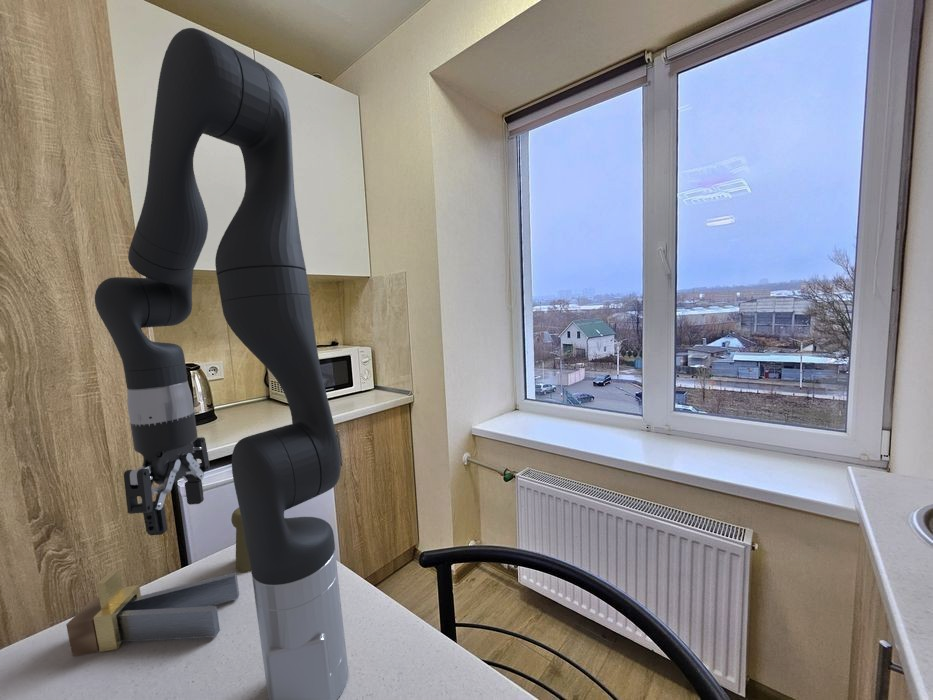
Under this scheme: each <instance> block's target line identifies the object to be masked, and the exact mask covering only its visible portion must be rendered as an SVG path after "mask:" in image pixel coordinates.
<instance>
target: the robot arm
mask: <svg viewBox="0 0 933 700" xmlns="http://www.w3.org/2000/svg"><path fill="white" fill-rule="evenodd" d="M278 77H279V76H277V75H276V74H275V72H273V71H272V70H271V69H269V68H268V67H266V66H265V65H264V64H262V63H260V62H258V61H256V59H253V58H251V57H250V56H248V55H246V54H244V53H243V52H241V51H239V50H237V49H236V48H234V47H233V46H230V45H229V44H227V43H225V42H224V41H222V40H220V39H218V38H216V37H214V36H213V35H212V34H209V33H207V32H205V31H203V30H200V29H198V28H195V27H187V28H183V29H180V30H179V31H178V32H176V34H175V35H174V36H173V37H172V39H171V40H170V42H169V44H168V46H167V48H166V51H165V53H164V56H163V59H162V62H161V67H160V72H159V77H158V84H157V90H156V91H157V92H156V100H155V106H154V107H155V108H154V118H153V125H152V133H151V142H150V149H149V150H150V153H149V163H148V175H147V183H146V191H145V197H144V200H143V205H142V208H141V212H140V215H139V219H138V221H137V224H136V227H135V230H134V234H133V236H132V240H131V242H130V245H129V249H128V254H127V255H128V256H127V258H128V262H129V264H130V266H131V268H133V270H134V271H135V272H137V273H138V274H139V275H141V276H143V277H124V276H123V277H120V276H118V277H117V276H115V277H109V278H106V279H104V280H103V281H102V282H101V283H100V284H99V285H98V286H97V288H96V290H95V293H94V304H95V308H96V310H97V314H98V315H99V318H100V319H101V321H102V323H103V324H104V326H105V327H106V330H107V331H108V333H109V335H110V337H111V339H112V341H113V343H114V345H115V347H116V350H117V351H118V354H119V356H120V358H121V361H122V362H121V363H122V365H123V371H124V372H123V373H124V376H125V377H124V378H125V385H126V389H127V390H126V393H127V401H126V402H127V403H126V405H127V412H128V417H129V418H128V419H129V425H130V430H131V431H130V432H131V436H132V437H131V438H132V442H133V443H132V444H133V449H134V451H135V452H136V453H138V454H140V455H141V456H142V457H143V458H142V459H143V460H142V461H143V462H142V466H140V467H138V468H136V469H135V468H134V469H127V470H125V471H124V473H123V482H124V491H125V499H126V508H127V513H128V514H129V515H132V514H133V515H134V514H135V515H136V514H143V520H144V524H145V532H146V533H147V535H149V536H160V535H164V534H165V533H166V532H167V531H168V525H167V518H166V511H165V507H164V504H165V500H166V497H167V494H168V493H170V492H171V491H172V489H173V485H174V483H176V482H177V481H178V480H179V479H180V478H182V480H183V481H185V482H184V489H185V497H186V502H187V504H188V505H190V506H191V505H200V504H201V503H203V501H204V499H205V498H204V488H203V482H202V480H203V479H204V476H205V472H209V471H210V469H211V466H210V460H209V454H208V449H207V442H206V438H205V437H202V436H201V437H199V436H198V430H197V422H196V415H195V408H194V407H195V406H194V400H193V395H192V390H191V388H190V385H189V381H188V373H187V365H186V359H185V353H184V351H183V348H182V347H181V346H180V345H178V344H176V343H171V342H161V341H159V342H158V341H153V340H151V339H150V338H149V337H148V336H146V334H145V333H144V331H143V330H142V329H143V328H157V327H159V328H160V327H161V328H162V327H172V326H173V327H174V326H177V325H180V324H182V323H183V322H185V321H186V320H187V319H188V318H189V317H190V315H191V313H192V310H193V279H194V269H195V267H196V265H197V262H198V260H199V258H200V255H201V253H202V251H203V248H204V246H205V243H206V240H207V236H208V231H209V221H208V220H209V219H208V214H207V211H206V207H205V205H204V202H203V201H204V200H203V199H202V196H201V193H200V190H199V187H198V183H197V179H196V175H195V171H194V169H195V168H194V156H195V151H196V148H197V147H198V146H197V145H198V143H199V141H200V139H201V137H202V135H206V136H209V137H212V138H215V139H217V140H220V141H223V142H226V143H229V144H231V145H234V146H237V147H239V149H240V151H241V154H242V159H243V163H244V173H245V174H244V175H245V176H244V179H245V189H244V194H243V197H242V200H241V203H240V204H239V206H238V209H237V210H236V212H235V213H234V216H233V217H232V219H231V221H230V222H229V224H228V226H227V228H226V230H225V231H224V233H223V235H222V237H221V239H220V242H219V244H218V246H217V249H216V255H215V261H214V262H215V265H214V266H215V270H216V271H215V272H216V274H215V275H216V280H217V285H218V290H219V296H220V303H221V308H222V314H223V317H224V319H225V321H226V323H227V324H228V326H229V328H230V330H232V332H233V333H234V335H236V337H237V338H238V340H239V341H240V342H241V343H242V344H243V345H244V346H245V347H246V348H247V349H248V350H249V351H250V352H251V354H252V355H254V356H255V358H256V359H258V360H259V362H261V364H263V366H264V367H266V369H267V370H268V371H269V372H270V373H271V374H272V376H273V378H274V379H275V380H276V381H277V382H278V385H279V387H281V390H282V391H283V393H284V396H285V398H286V402H287V403H288V408H289V411H290V417H291V421H292V422H291V423H290V424H287V425H284V426H283V425H282V426H281V427H280V426H278V427H276V428H272V429H269V430H266V431H262V432H258V433H255V434H251V435H248V436H245V437H243V438H241V439H240V440H238V441H237V442H236V444H235V446H234V448H233V450H232V454H231V473H232V474H231V475H232V479H233V484H234V489H235V493H236V498H237V502H238V508H240V514H241V519H242V524H243V531H244V538H245V543H246V547H247V551H248V556H249V560H250V566H251V571H250V572H251V578H252V579H251V580H252V585H253V592H254V600H255V602H254V603H255V610H256V616H257V624H258V631H259V632H258V633H259V639H260V647H261V655H262V662H263V671H264V676H265V677H264V678H265V683H266V690H267V691H266V692H267V697H268V700H338V699H339V698H340V696H341V694H342V693H343V692H344V690H345V688H346V685H347V682H348V679H349V666H348V655H347V648H346V638H345V630H344V629H345V628H344V620H343V619H344V618H343V611H342V610H343V609H342V602H341V600H342V599H341V592H340V584H339V582H340V581H339V573H338V563H337V554H336V543H335V535H334V530H333V528H332V525H331V524H330V523H329V522H327V520H325V519H323V518H320V517H316V516H296V517H285V511H287V510H289V509H292V508H294V507H296V506H298V505H301V504H302V503H305V502H308V501H309V500H312V499H314V498H317V497H319V496H320V495H322V494H325V493H327V492H329V491H330V490H332V489H333V488H334V487H335V486H337V484H338V482H339V480H340V476H341V470H342V466H341V465H342V463H341V460H342V459H341V452H340V450H341V449H340V445H339V441H338V436H337V435H338V434H337V433H336V431H337V430H336V427H335V424H334V419H333V415H332V412H331V408H330V407H331V406H330V403H329V399H328V394H327V392H326V386H325V383H324V378H323V374H322V369H321V364H320V358H319V351H318V348H317V340H316V334H315V327H314V326H315V325H314V318H313V311H312V304H311V303H312V302H311V301H312V300H311V295H310V288H309V282H308V275H307V268H306V262H305V258H304V252H303V248H302V241H301V233H300V227H299V217H298V210H297V209H298V208H297V201H296V194H295V193H296V192H295V180H294V179H295V178H294V162H293V161H294V159H293V158H294V157H293V140H292V138H293V137H292V124H291V114H290V113H291V111H290V106H289V100H288V96H287V93H286V90H285V87H284V86H283V83H282V82H281V80H280V79H279V78H278ZM198 460H200V462H201V463H198ZM154 483H155V484H156V486H153V484H154ZM155 494H156V497H155V500H153V495H155ZM138 497H141V499H140V502H138V501H139V500H138Z"/></svg>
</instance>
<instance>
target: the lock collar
mask: <svg viewBox="0 0 933 700" xmlns="http://www.w3.org/2000/svg"><path fill="white" fill-rule="evenodd" d="M121 576H122V575H121V571H120V568H116V569H112V570H110V571H109V572H108V573H107V574H106V575H105V576H104V577H103V578H101V579H100V580H99V581H98V582H97V583H96V588H97V593H98V598H99V599H100V605H101V610H100V611H99V612H98V613H97V614H96V615H95V616H94V617H93V618H94V624H95V629H96V634H97V639H98V645H99V653H102V652H109V651H114V650H118V649H119V648H120V646H122V641H121V640H120V634H119V629H118V623H117V618H116V615H117V614H118V613H119V612H120V611H121V609H122V608H123V607H124V606H125V605H126V604H127V603H128V602H129V601H130V600H131V599H132V598H135V597H139V596H142V594H141V588H140V584H137V585H130V586H124V587H123V580H122V577H121Z"/></svg>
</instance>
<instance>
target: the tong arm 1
mask: <svg viewBox="0 0 933 700" xmlns="http://www.w3.org/2000/svg"><path fill="white" fill-rule="evenodd" d="M217 607H218V606H217V605H211V606H205V607H185V608H166V609H147V610H128V611H120V612H119V613H118V614H117V615H116V618H117V623H118V629H119V634H120V640H121V642H130V641H148V640H149V641H150V640H166V639H167V640H171V639H187V638H188V639H191V638H207V637H209V638H210V637H211V638H212V637H217V635H218V634H219V633H220V631H221V628H220V622H219V613H218V608H217Z"/></svg>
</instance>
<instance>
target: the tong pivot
mask: <svg viewBox="0 0 933 700" xmlns="http://www.w3.org/2000/svg"><path fill="white" fill-rule="evenodd" d="M100 610H101V605H100V599H99V597H94V598H93V599H91V601H89V602H88V603H87V604H86V605H85V606H84V607H83V608H82V609H81V610H80V611H79V612H78V613H77V614H75V615H74V616H73V618H72V619H70V620H69V621H68V622H67V623H66V624H65V625H66V631H67V636H68V639H69V640H68V641H69V644H70V650H71V656H72V657H77V656H82V655H83V656H84V655H88V654H94V653H99V652H100V650H99V645H98V639H97V634H96V629H95V624H94V618H93V617H94V616H95V615H96V614H97V613H98V612H99V611H100Z"/></svg>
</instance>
